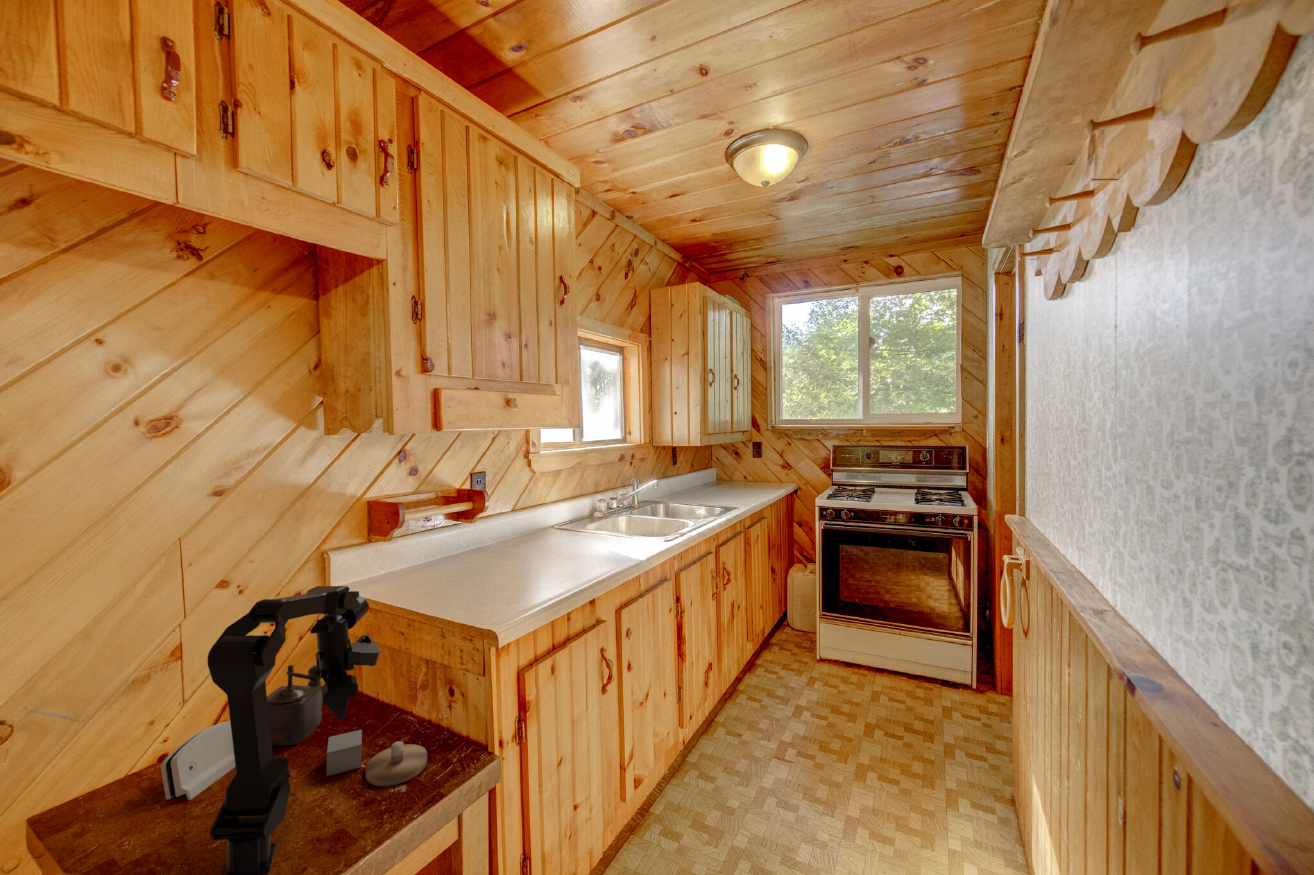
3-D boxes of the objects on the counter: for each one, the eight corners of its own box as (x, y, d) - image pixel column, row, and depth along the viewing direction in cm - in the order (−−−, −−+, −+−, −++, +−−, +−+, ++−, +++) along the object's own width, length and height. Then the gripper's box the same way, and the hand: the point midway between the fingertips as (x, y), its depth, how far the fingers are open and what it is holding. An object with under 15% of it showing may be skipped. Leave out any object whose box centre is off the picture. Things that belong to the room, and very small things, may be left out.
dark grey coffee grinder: (248, 749, 118) (249, 671, 118) (279, 722, 129) (280, 651, 129) (319, 746, 119) (321, 669, 119) (344, 720, 130) (345, 649, 130)
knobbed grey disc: (429, 775, 110) (430, 751, 110) (365, 793, 104) (365, 768, 104) (424, 745, 120) (424, 724, 120) (365, 760, 114) (365, 738, 114)
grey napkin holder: (188, 801, 101) (173, 752, 101) (167, 808, 101) (151, 759, 101) (258, 749, 118) (245, 708, 118) (240, 755, 118) (226, 714, 118)
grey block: (361, 767, 112) (361, 744, 112) (326, 776, 109) (326, 752, 109) (361, 751, 118) (361, 729, 118) (328, 759, 114) (328, 737, 114)
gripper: (383, 650, 108) (387, 716, 111) (368, 612, 123) (372, 672, 125) (320, 668, 101) (326, 738, 104) (312, 627, 116) (318, 689, 119)
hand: (339, 706), depth 113 cm, fingers open, 9 cm apart
